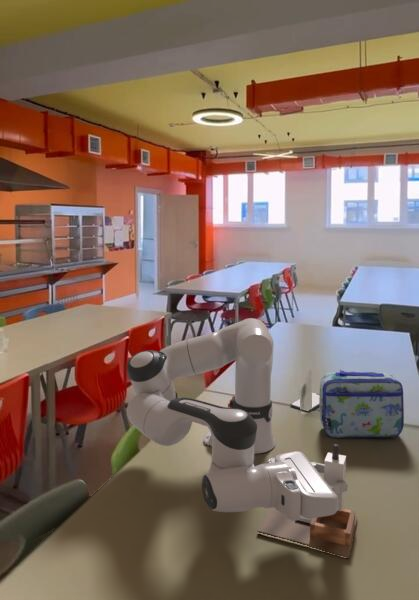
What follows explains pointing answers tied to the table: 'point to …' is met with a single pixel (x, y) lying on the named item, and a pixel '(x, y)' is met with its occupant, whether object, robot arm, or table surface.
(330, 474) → the connector plug
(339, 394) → the lunch box
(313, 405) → the phone case
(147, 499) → the table surface
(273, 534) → the board
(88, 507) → the table surface
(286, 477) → the robot arm
